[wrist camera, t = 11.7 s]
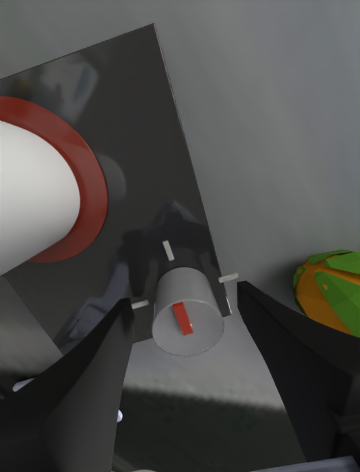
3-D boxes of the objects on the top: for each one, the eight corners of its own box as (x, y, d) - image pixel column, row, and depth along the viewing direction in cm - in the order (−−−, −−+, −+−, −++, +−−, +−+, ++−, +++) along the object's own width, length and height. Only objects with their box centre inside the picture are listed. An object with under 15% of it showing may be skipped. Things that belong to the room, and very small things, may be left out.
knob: (215, 304, 13) (232, 350, 10) (166, 319, 14) (165, 370, 10) (202, 259, 12) (216, 294, 9) (147, 276, 12) (139, 317, 9)
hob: (235, 296, 16) (247, 318, 14) (85, 340, 17) (70, 369, 15) (175, 49, 10) (177, 10, 8) (-54, 132, 11) (-119, 119, 9)
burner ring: (131, 237, 11) (131, 238, 11) (4, 277, 12) (1, 279, 12) (59, 70, 9) (57, 68, 8) (-106, 131, 9) (-112, 130, 9)
